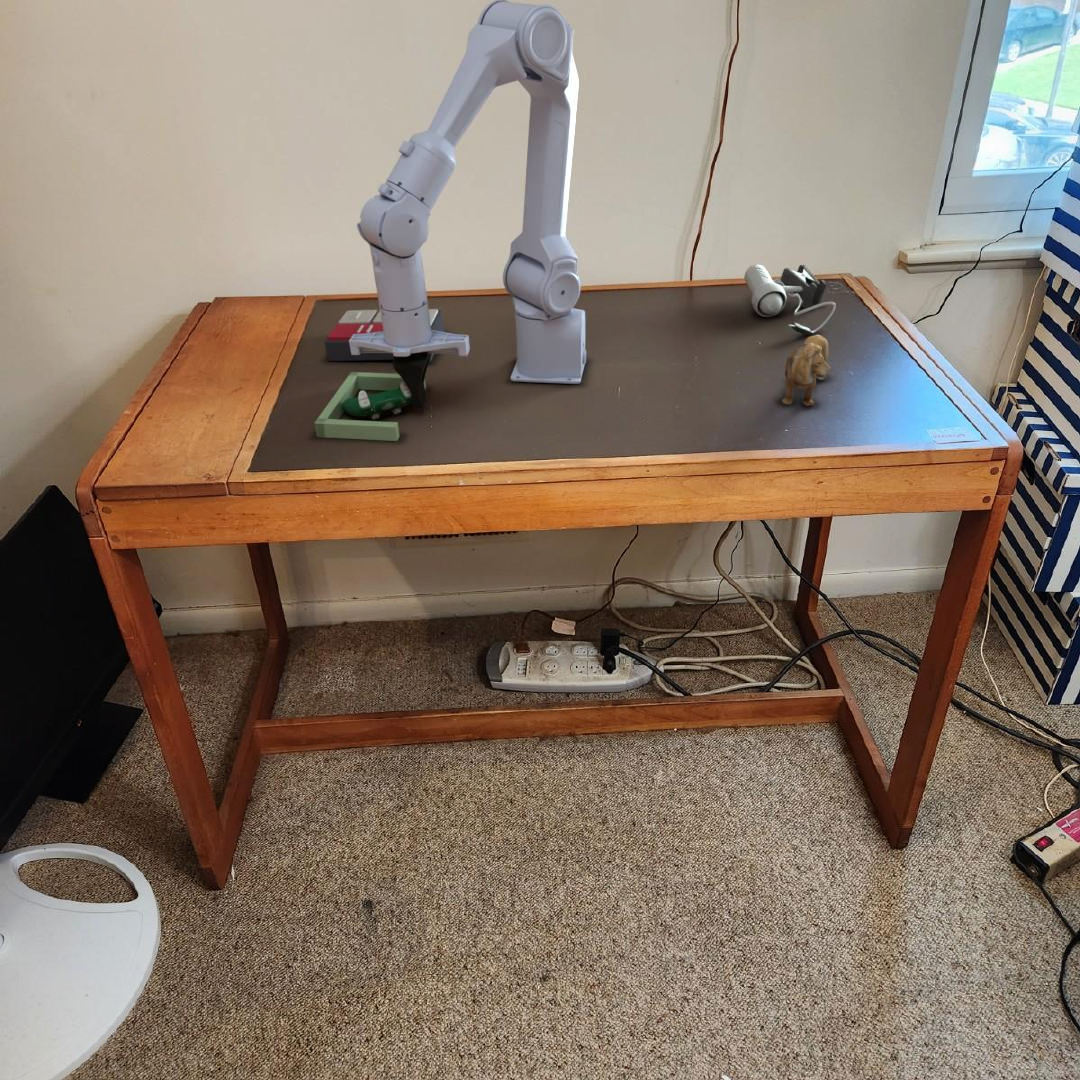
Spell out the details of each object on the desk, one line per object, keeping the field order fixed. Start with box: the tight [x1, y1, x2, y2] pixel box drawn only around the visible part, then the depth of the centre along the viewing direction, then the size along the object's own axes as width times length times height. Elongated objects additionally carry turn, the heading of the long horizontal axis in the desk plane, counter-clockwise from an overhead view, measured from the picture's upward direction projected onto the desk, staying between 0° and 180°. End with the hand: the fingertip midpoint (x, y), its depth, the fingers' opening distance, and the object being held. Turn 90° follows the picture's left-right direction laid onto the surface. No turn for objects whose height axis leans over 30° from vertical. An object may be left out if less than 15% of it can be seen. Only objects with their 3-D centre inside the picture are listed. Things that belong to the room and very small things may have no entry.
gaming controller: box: [342, 381, 412, 421], centre depth 114 cm, size 9×4×6 cm
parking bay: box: [314, 371, 427, 442], centre depth 115 cm, size 10×14×2 cm
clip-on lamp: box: [743, 263, 837, 336], centre depth 136 cm, size 12×6×18 cm
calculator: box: [323, 308, 446, 363], centre depth 131 cm, size 11×4×15 cm
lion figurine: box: [781, 334, 832, 407], centre depth 114 cm, size 15×5×9 cm, turn 163°
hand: (418, 405), depth 114 cm, fingers closed, pressing on gaming controller
